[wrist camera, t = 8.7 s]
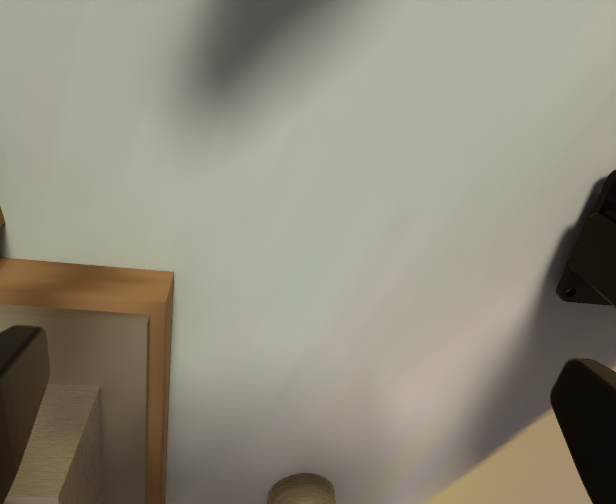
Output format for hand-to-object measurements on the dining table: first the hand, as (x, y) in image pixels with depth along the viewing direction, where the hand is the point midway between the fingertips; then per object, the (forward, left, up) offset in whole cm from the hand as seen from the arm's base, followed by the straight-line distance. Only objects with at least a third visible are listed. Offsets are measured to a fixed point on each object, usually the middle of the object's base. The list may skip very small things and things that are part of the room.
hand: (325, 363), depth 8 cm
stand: (+9, +14, -12) cm, 21 cm away
